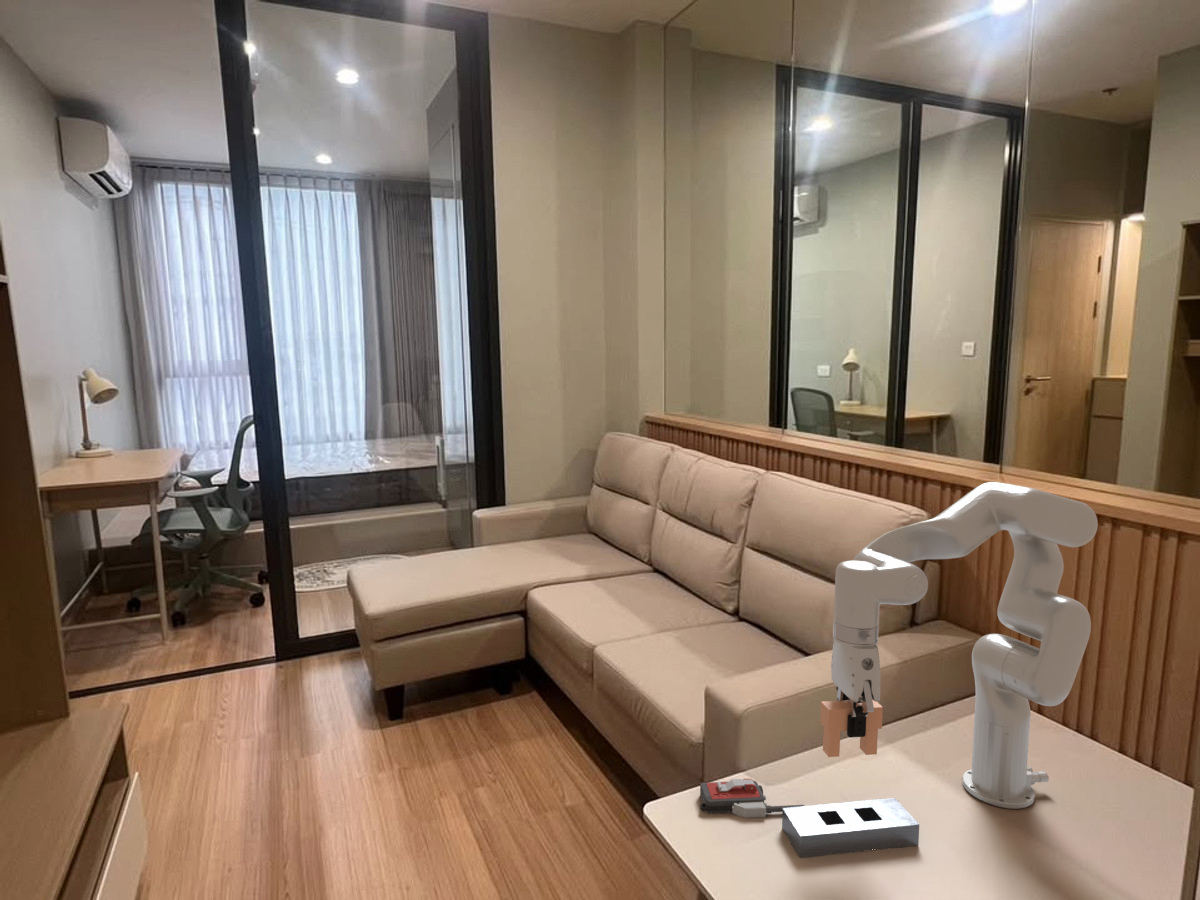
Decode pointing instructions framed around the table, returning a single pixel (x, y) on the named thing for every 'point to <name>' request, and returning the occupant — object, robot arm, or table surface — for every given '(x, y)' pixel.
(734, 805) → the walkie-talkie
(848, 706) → the tan forked block
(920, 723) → the table surface
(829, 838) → the metal socket block
